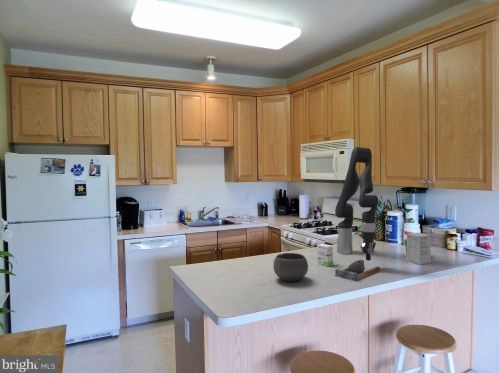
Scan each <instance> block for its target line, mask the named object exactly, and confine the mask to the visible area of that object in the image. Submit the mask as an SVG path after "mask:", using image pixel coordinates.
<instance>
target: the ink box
mask: <svg viewBox="0 0 499 373" xmlns="http://www.w3.org/2000/svg"><path fill="white" fill-rule="evenodd" d="M316 246H317V248H316V249H317V250H316V251H317V264H318V263H319V264H318V265H321V264H322V265H321V266H324V265H325V267H331V266H334V255H333V254H334V250H333V248H334V247H333V245H330V244H326V243H320V244H319V243H318V244H317V245H316Z"/></svg>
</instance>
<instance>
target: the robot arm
mask: <svg viewBox="0 0 499 373" xmlns="http://www.w3.org/2000/svg"><path fill="white" fill-rule="evenodd" d="M372 153H373V152H372V149H371V148H368V147H362V146H356V147H354V148H353V149H352V151H351V153H350V154H351V155H350V159H349V164H348V168H347V173H346V176H345V179H344V182H343V185H342V189H341V193H340V196H339V198H338V201H337V202H336V206H335V208H334V212H335V216H336V217H337V218H338V219H339V218H340V219H343V218H344V219H343V220H342V221H339V223H338V224H337V233H338V234H337V235H338V237H337V238H336V249H337V250H336V252H337V253H339V254H340V255H351V254H353V224H354V207H353V205H352V204H351V203H348V201H349V200H350V199H351V198H352V197H353V196H355V195H356V193H357V191H358V190H359V189H360V190H359V192H360V193H359V198H358V206H359V207H360V208H363V209H364V208H369V210H367V211H364V212H362V213H361V228H360V229H361V232H360V234H361V236H360V237H361V239H362V245H360V247H359V248H360V249H361V251H362V253H363V254H365V261H371V260H372V253H374V251H375V248H376V244H377V243H376V242H375V239H376V212H377V210H378V209H377V208H378V207H379V206H378V205H379V198H378V196H377V195H375V194H372V193H373V191H374V185H373V177H372V171H373V170H372V169H373V168H372V167H373V164H372V163H373V154H372ZM357 163H360V164H361V163H362V164H364V166H365V167H364V169H363V171H362V172H361V174H360V176H359V175H358V172H357V168H356V167H357ZM368 194H369V195H368Z"/></svg>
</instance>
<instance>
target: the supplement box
mask: <svg viewBox="0 0 499 373" xmlns="http://www.w3.org/2000/svg"><path fill="white" fill-rule="evenodd" d="M406 239H407V254H406V260H407V261H406V262H409V263H412V264H416V265H419V266H420V265H425V264H431V257H432V256H431V253H432V252H431V234H427V233H423V232H422V233H421V232H413V233H407V234H406Z"/></svg>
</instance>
